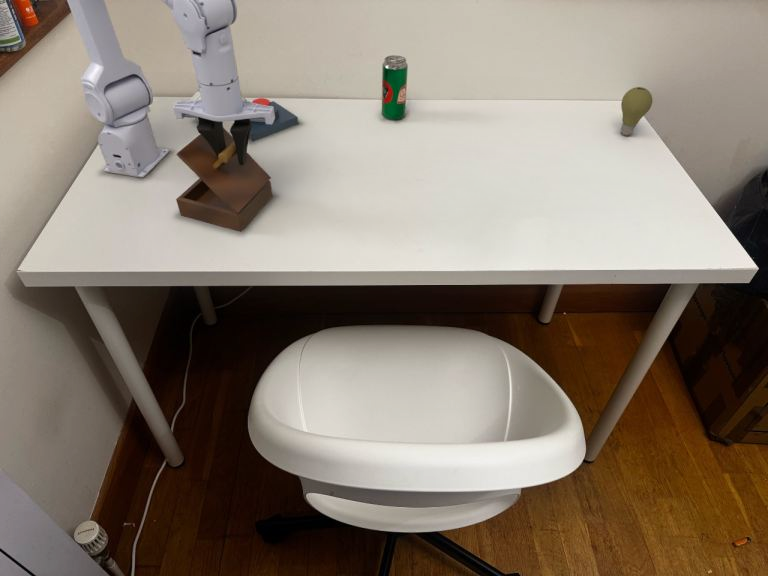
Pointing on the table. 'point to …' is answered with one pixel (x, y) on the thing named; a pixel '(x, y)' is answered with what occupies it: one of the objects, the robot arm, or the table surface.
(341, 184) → the table surface
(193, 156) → the chest lid
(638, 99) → the light bulb
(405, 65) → the soda can
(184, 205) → the chest
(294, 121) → the box
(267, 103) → the button
